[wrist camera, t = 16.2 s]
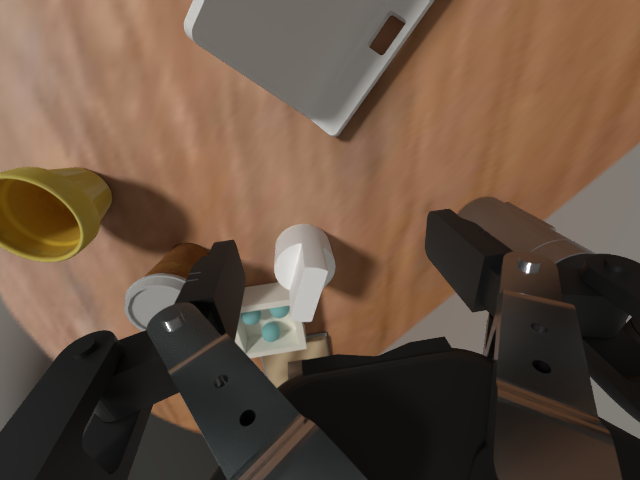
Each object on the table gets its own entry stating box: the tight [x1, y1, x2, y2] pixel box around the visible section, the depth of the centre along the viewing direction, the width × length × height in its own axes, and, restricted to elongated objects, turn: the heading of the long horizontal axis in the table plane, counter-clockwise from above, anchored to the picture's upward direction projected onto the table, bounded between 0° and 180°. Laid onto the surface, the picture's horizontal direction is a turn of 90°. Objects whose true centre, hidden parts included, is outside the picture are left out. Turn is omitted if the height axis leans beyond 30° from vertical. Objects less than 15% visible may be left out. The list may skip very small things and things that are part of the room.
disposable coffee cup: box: [125, 243, 209, 331], centre depth 40 cm, size 10×10×12 cm
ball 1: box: [241, 310, 261, 325], centre depth 49 cm, size 3×3×3 cm
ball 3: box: [270, 306, 290, 318], centre depth 49 cm, size 3×3×3 cm
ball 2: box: [261, 322, 280, 342], centre depth 51 cm, size 3×3×3 cm
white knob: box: [274, 224, 336, 322], centre depth 42 cm, size 9×9×12 cm
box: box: [235, 282, 307, 358], centre depth 50 cm, size 12×12×5 cm
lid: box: [262, 336, 328, 388], centre depth 57 cm, size 13×13×6 cm
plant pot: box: [0, 167, 112, 262], centre depth 34 cm, size 10×10×10 cm
